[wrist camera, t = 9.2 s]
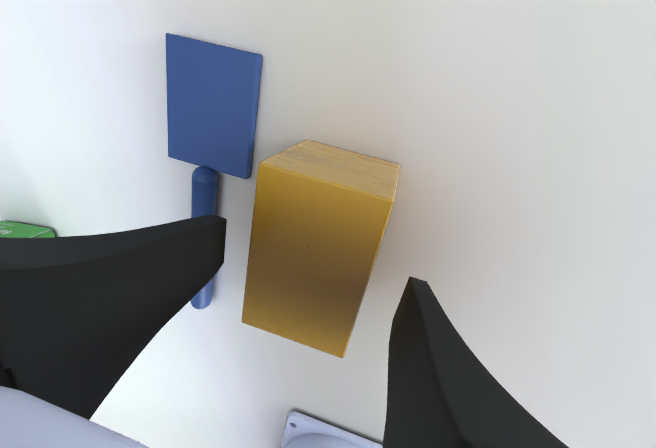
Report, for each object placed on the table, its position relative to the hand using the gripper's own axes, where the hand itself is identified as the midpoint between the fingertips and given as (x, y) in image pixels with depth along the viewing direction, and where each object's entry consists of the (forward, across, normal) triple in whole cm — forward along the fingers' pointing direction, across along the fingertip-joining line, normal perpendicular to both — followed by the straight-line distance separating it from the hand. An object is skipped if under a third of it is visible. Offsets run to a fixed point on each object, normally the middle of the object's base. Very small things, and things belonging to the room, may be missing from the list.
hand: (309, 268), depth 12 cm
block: (+4, 0, 0) cm, 5 cm away
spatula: (+4, +7, 0) cm, 8 cm away
